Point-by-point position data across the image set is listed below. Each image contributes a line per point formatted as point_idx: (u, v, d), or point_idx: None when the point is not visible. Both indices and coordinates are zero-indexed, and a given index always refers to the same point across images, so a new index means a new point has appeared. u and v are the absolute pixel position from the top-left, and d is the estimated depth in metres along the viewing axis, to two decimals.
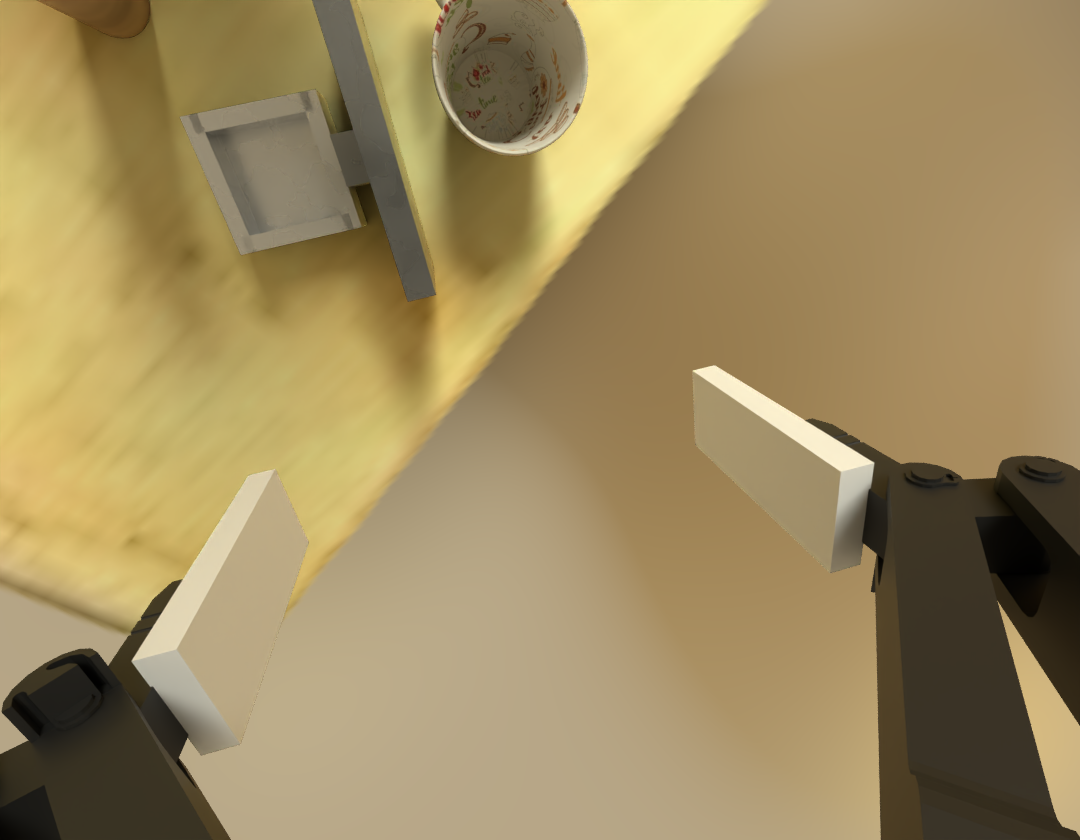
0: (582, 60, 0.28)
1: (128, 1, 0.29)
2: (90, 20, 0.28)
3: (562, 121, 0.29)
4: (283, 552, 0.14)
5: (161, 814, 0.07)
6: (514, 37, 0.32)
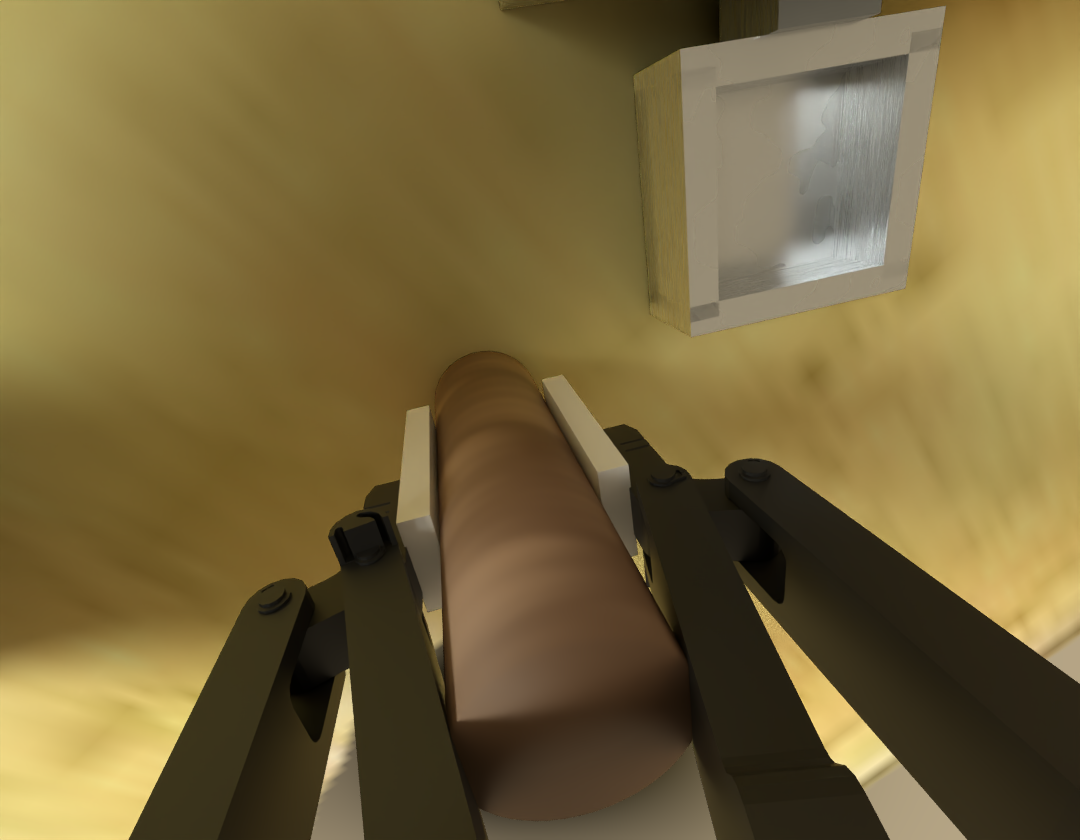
0: None
1: (516, 375, 0.18)
2: None
3: None
4: None
5: (409, 659, 0.08)
6: None
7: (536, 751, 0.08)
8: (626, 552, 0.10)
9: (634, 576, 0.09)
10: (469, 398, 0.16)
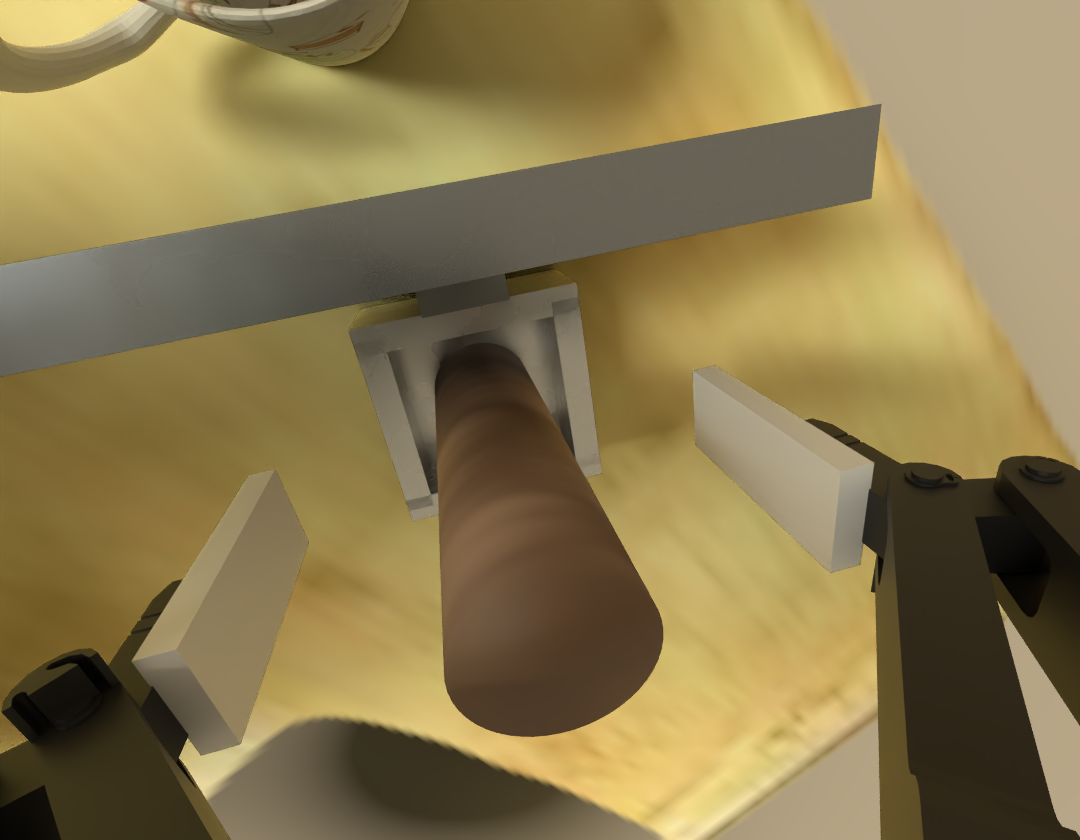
0: None
1: (509, 363, 0.19)
2: None
3: None
4: (283, 552, 0.14)
5: (161, 814, 0.07)
6: None
7: (520, 671, 0.09)
8: (602, 511, 0.11)
9: (607, 528, 0.10)
10: (466, 383, 0.17)
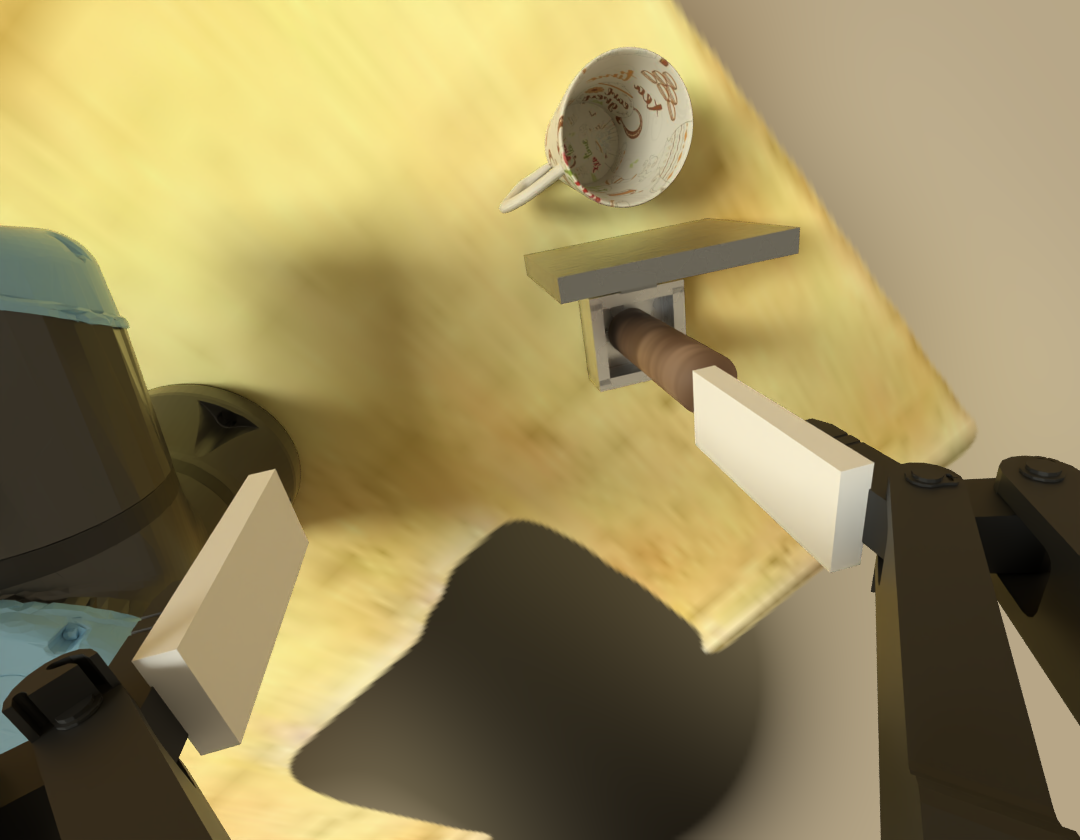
0: (625, 53, 0.29)
1: None
2: None
3: (665, 78, 0.30)
4: (283, 552, 0.14)
5: (161, 814, 0.07)
6: None
7: None
8: None
9: None
10: (640, 321, 0.40)
